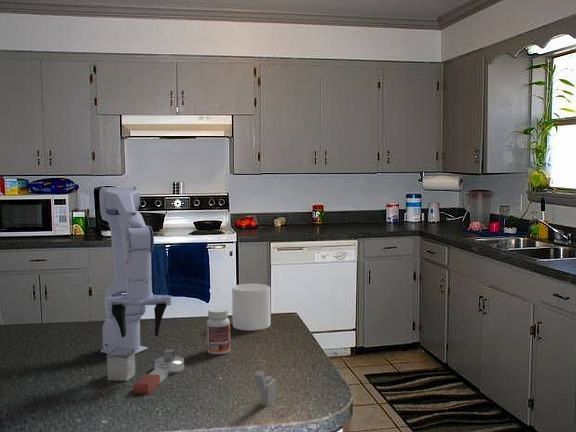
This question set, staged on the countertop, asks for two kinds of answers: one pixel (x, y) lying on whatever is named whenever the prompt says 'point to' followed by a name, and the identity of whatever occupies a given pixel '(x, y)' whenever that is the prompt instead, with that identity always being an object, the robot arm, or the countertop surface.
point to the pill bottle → (218, 331)
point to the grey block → (121, 364)
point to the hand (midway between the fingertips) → (140, 335)
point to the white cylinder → (251, 306)
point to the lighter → (265, 387)
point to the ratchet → (160, 372)
